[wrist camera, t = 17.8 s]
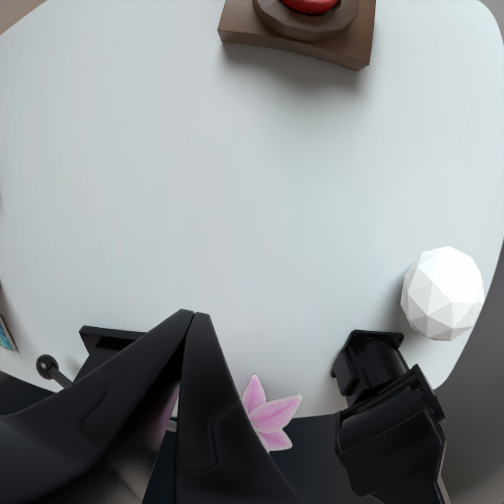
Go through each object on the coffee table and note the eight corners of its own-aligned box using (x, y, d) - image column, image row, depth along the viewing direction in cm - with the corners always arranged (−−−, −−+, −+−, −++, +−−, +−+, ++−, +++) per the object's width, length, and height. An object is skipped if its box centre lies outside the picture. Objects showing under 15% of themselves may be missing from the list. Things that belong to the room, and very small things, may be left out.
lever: (55, 364, 24) (39, 377, 22) (44, 345, 23) (28, 359, 20) (123, 414, 20) (106, 434, 17) (112, 396, 19) (92, 417, 16)
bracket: (103, 369, 27) (73, 429, 18) (83, 325, 25) (39, 387, 16) (169, 379, 27) (148, 451, 18) (155, 332, 24) (120, 412, 15)
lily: (277, 358, 32) (333, 397, 24) (248, 427, 32) (291, 469, 24) (188, 356, 25) (237, 417, 17) (168, 435, 25) (203, 495, 17)
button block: (366, 4, 12) (386, -16, 9) (358, 71, 15) (380, 58, 11) (240, -25, 12) (237, -52, 8) (221, 41, 15) (212, 19, 11)
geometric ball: (393, 259, 24) (392, 260, 17) (464, 240, 20) (489, 235, 13) (404, 333, 23) (405, 363, 16) (475, 316, 19) (499, 339, 12)
